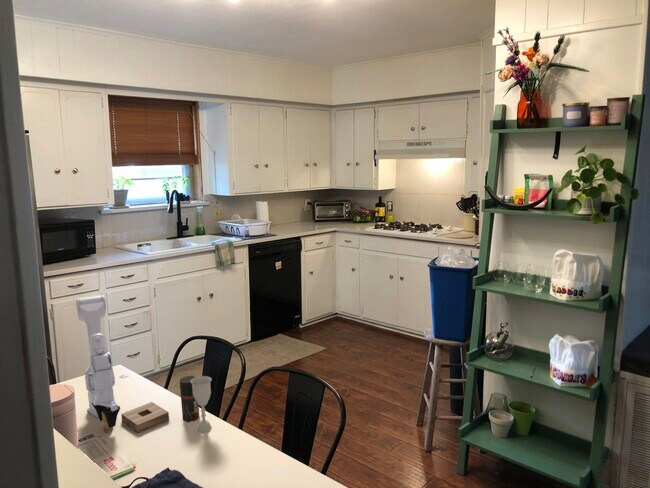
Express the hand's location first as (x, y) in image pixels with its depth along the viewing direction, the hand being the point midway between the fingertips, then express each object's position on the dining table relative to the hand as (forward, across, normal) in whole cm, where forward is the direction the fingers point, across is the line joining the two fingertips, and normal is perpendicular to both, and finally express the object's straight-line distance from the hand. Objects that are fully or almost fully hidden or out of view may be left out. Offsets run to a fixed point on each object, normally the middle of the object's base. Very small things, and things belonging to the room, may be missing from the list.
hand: (107, 423), depth 184 cm
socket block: (+3, +4, +12) cm, 13 cm away
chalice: (+3, +25, +23) cm, 34 cm away
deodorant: (+3, +15, +24) cm, 28 cm away
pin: (+3, 0, 0) cm, 3 cm away
